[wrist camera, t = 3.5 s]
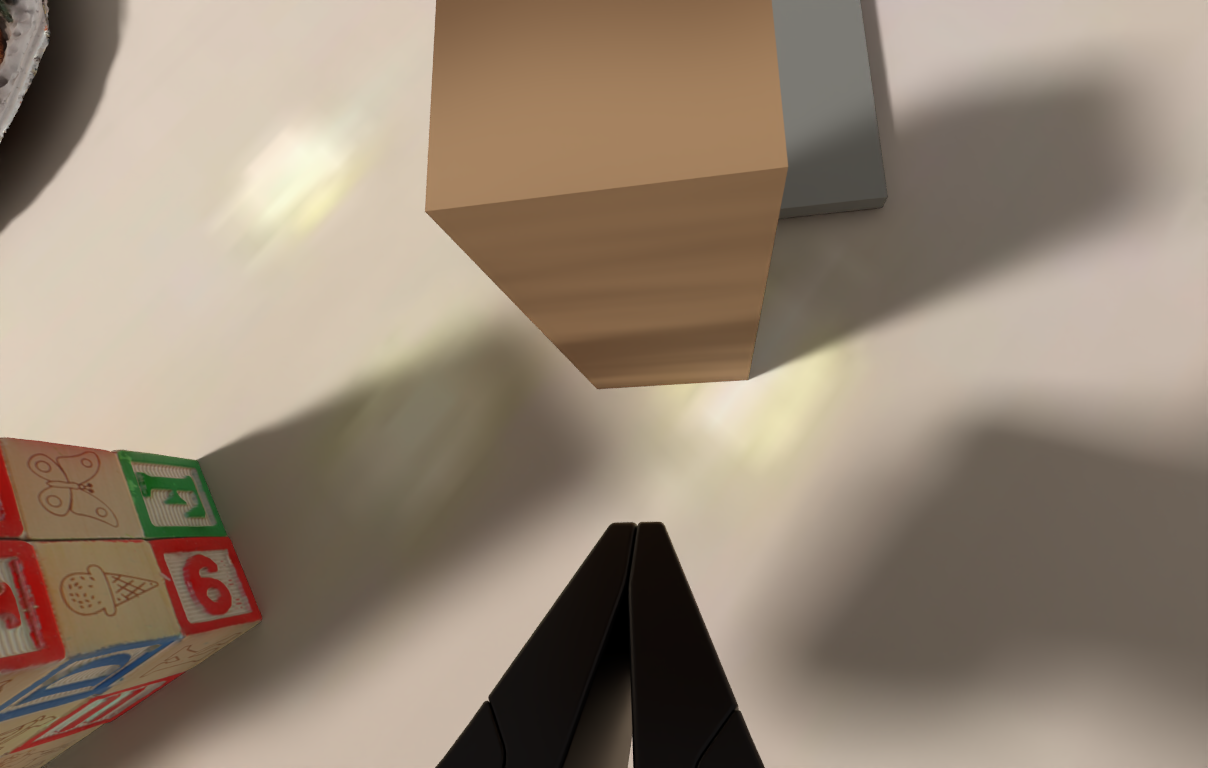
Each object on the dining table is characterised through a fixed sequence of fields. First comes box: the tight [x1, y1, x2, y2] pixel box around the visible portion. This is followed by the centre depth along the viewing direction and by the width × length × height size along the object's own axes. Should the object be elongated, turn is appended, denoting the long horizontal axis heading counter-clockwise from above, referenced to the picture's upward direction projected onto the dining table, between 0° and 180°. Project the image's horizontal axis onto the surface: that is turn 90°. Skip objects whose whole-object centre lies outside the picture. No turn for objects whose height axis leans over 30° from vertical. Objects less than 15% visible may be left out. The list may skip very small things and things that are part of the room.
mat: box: [772, 0, 887, 219], centre depth 20 cm, size 16×13×1 cm
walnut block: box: [425, 0, 788, 389], centre depth 13 cm, size 4×4×11 cm
